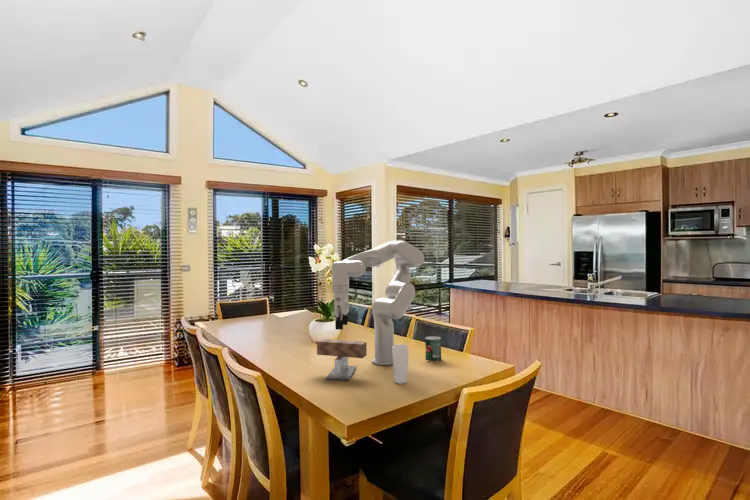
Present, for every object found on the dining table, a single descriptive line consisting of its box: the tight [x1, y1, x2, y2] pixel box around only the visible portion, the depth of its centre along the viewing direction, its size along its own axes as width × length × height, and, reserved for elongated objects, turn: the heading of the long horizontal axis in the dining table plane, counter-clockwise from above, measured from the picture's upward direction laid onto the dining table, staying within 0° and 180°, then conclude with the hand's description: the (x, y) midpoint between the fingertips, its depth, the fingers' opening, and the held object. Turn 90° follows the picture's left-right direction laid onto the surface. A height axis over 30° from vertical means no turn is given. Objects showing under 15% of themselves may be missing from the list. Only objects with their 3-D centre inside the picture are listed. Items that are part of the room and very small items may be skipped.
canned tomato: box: [424, 335, 442, 362], centre depth 193 cm, size 8×8×11 cm
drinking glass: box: [392, 343, 409, 385], centre depth 161 cm, size 7×7×15 cm
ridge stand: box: [325, 356, 357, 382], centre depth 172 cm, size 10×18×8 cm, turn 172°
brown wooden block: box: [316, 338, 368, 359], centre depth 172 cm, size 22×5×6 cm, turn 71°
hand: (341, 326), depth 173 cm, fingers open, 9 cm apart
